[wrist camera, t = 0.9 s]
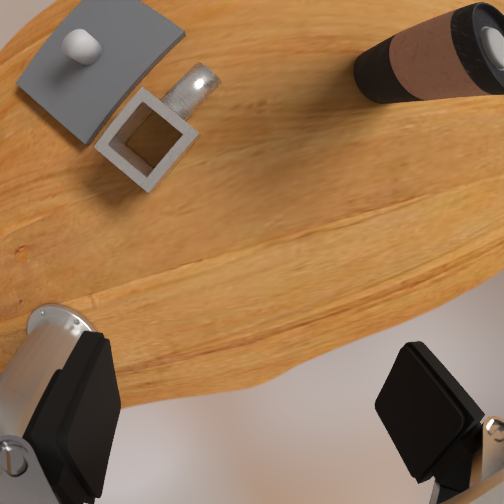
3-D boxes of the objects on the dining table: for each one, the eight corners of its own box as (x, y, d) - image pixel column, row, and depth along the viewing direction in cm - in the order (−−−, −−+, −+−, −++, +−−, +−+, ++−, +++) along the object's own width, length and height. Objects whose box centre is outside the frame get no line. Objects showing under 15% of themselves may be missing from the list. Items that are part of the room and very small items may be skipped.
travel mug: (340, 56, 29) (454, -1, 10) (387, 44, 29) (503, 2, 10) (367, 113, 32) (498, 104, 13) (411, 97, 31) (537, 88, 13)
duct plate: (90, 144, 29) (67, 145, 23) (22, 84, 25) (-5, 78, 19) (185, 35, 26) (181, 15, 21) (107, -16, 22) (92, -37, 16)
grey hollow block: (159, 185, 32) (148, 193, 26) (113, 146, 30) (93, 147, 24) (233, 102, 30) (238, 92, 24) (185, 63, 28) (180, 46, 22)
